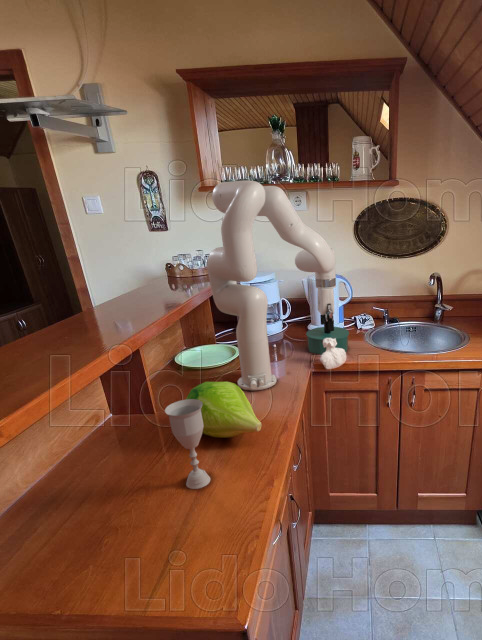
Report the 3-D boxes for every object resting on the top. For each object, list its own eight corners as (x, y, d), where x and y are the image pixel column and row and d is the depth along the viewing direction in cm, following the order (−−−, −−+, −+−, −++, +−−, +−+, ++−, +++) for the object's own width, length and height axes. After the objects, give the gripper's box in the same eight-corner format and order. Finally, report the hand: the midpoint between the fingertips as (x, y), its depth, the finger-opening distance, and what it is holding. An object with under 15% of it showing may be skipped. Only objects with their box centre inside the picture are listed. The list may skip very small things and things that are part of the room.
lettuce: (278, 435, 111) (238, 470, 101) (216, 401, 120) (174, 430, 109) (279, 392, 103) (235, 426, 92) (212, 358, 111) (165, 386, 100)
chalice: (203, 467, 95) (190, 396, 87) (222, 479, 91) (209, 404, 83) (174, 483, 90) (157, 409, 82) (192, 496, 86) (176, 419, 78)
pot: (352, 353, 161) (351, 337, 158) (311, 357, 158) (311, 341, 155) (342, 341, 175) (342, 326, 172) (305, 345, 172) (304, 330, 169)
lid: (353, 339, 158) (353, 322, 156) (310, 343, 155) (309, 326, 152) (343, 327, 173) (343, 312, 170) (303, 331, 170) (302, 315, 167)
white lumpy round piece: (343, 366, 155) (329, 340, 156) (355, 358, 149) (340, 330, 150) (320, 376, 147) (305, 348, 148) (332, 368, 141) (317, 339, 142)
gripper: (311, 279, 163) (313, 322, 170) (320, 288, 147) (321, 334, 154) (330, 278, 164) (332, 321, 171) (340, 286, 149) (341, 333, 156)
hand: (327, 327), depth 163 cm, fingers open, 9 cm apart
